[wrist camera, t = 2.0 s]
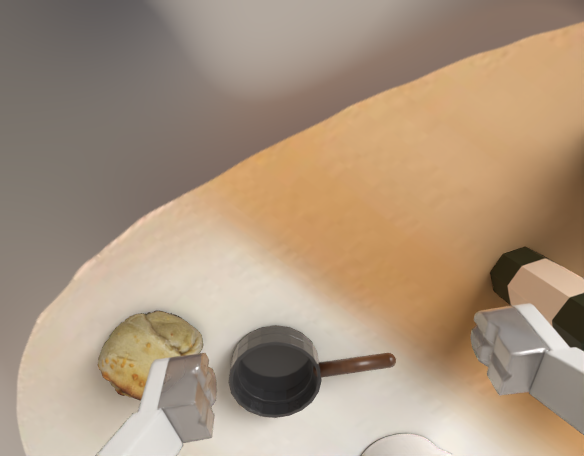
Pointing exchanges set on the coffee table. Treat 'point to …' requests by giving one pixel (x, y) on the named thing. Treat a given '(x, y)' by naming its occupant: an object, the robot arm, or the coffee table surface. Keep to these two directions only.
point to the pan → (274, 372)
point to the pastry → (145, 349)
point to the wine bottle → (543, 291)
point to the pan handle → (356, 364)
